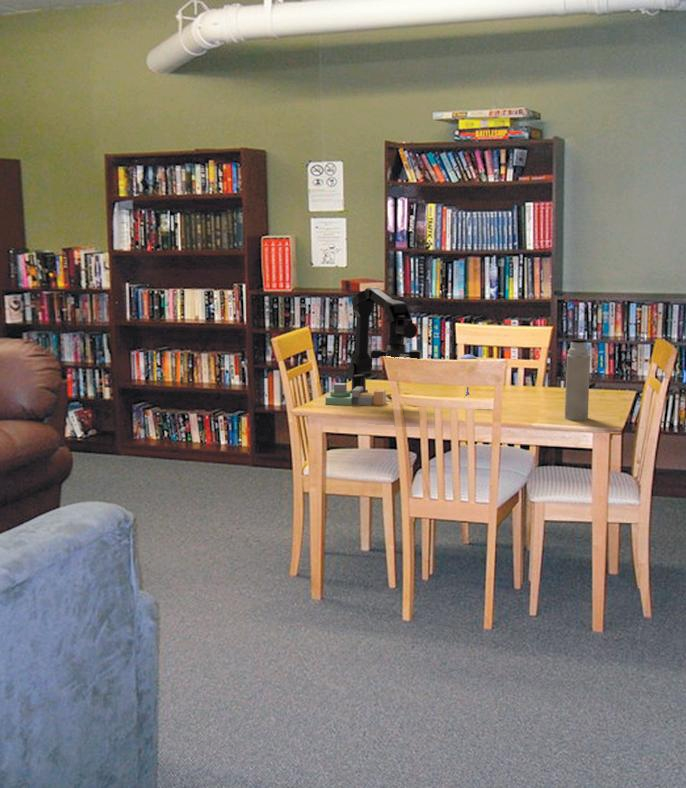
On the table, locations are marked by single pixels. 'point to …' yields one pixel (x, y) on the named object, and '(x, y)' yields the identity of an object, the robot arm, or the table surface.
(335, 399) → the deck
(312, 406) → the table surface
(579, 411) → the thermos bottle
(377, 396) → the chute
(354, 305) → the robot arm
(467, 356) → the baby rattle
